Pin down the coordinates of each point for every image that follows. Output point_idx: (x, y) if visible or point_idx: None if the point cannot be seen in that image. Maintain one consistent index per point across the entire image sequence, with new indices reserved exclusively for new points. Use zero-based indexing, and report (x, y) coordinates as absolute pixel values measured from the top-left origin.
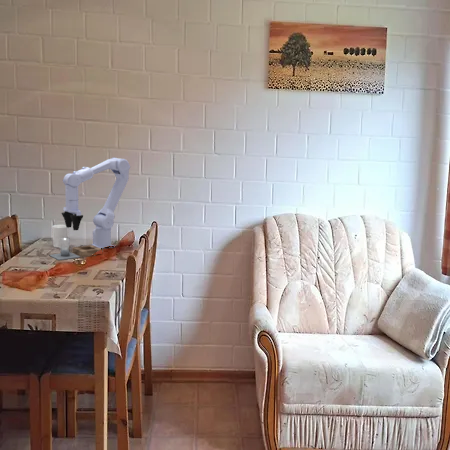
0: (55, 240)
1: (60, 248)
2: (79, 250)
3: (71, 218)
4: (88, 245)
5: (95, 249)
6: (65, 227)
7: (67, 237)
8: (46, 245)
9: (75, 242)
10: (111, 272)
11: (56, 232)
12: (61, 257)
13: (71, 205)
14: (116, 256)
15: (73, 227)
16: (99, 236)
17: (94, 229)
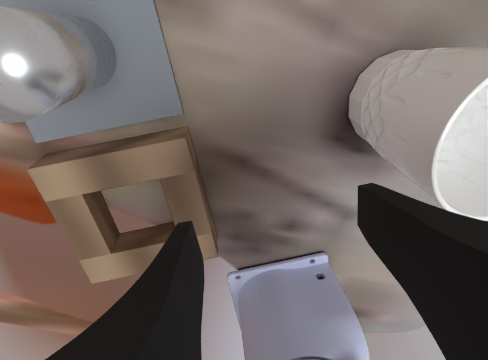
0: (403, 61)
1: (51, 13)
2: (71, 161)
3: (137, 326)
4: (210, 237)
5: (87, 251)
6: (430, 179)
7: (31, 104)
8: (470, 10)
9: (430, 198)
10: None
11: (439, 77)
12: (18, 7)
13: None
14: (44, 305)
15: (171, 237)
16: (260, 327)
17: (359, 341)
